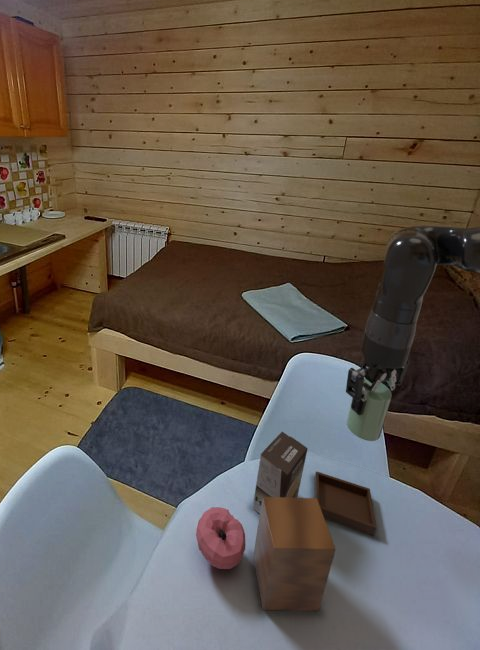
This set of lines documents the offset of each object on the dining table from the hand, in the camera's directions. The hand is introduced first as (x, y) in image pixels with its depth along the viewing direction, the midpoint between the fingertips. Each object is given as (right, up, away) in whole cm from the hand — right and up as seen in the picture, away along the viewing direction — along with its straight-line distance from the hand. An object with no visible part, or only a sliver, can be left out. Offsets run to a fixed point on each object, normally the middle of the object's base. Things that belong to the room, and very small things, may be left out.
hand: (369, 406), depth 68 cm
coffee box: (-16, -27, +10) cm, 33 cm away
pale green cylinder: (0, -5, +2) cm, 6 cm away
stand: (-18, -31, -4) cm, 36 cm away
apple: (-30, -30, 0) cm, 43 cm away
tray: (-1, -27, +10) cm, 29 cm away
